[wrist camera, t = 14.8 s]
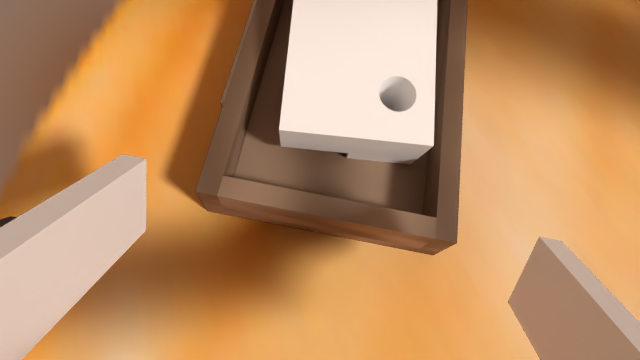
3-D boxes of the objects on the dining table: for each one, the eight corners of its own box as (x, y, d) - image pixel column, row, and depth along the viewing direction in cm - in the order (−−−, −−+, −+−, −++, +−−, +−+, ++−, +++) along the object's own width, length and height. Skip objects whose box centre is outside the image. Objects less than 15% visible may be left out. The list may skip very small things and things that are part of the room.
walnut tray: (450, 2, 27) (468, -37, 24) (433, 255, 20) (456, 242, 17) (277, -34, 27) (276, -76, 24) (201, 209, 20) (188, 190, 17)
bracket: (303, -54, 23) (308, -199, 16) (418, -39, 24) (474, -174, 16) (281, 151, 21) (274, 91, 13) (410, 164, 21) (474, 113, 14)
